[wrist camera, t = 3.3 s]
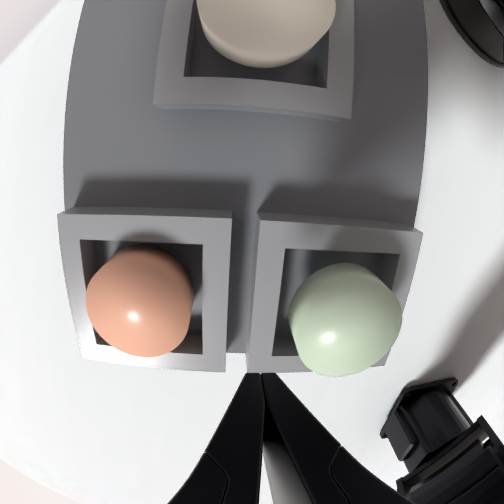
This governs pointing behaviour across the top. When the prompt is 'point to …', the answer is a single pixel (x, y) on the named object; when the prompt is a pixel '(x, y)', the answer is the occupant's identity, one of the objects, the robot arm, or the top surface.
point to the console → (241, 167)
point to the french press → (477, 28)
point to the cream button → (265, 28)
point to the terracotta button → (141, 301)
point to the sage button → (343, 320)
